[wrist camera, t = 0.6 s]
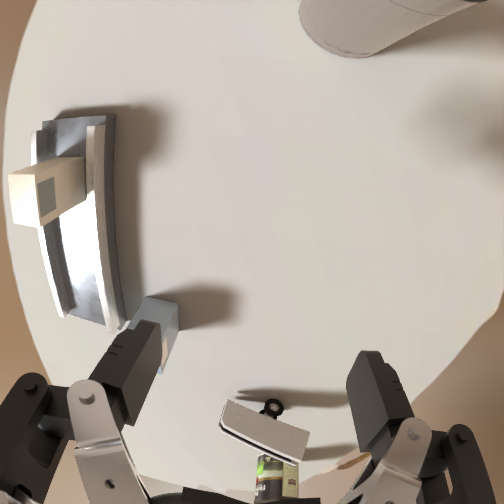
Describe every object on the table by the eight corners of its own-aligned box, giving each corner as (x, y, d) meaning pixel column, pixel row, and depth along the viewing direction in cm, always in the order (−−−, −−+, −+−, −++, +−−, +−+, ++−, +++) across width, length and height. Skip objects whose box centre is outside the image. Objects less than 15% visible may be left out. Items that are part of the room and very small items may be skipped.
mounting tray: (53, 119, 24) (31, 123, 21) (115, 114, 24) (95, 116, 21) (73, 305, 37) (61, 321, 33) (126, 321, 37) (115, 339, 33)
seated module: (56, 157, 25) (7, 174, 18) (84, 157, 25) (34, 174, 18) (58, 197, 27) (13, 222, 20) (86, 200, 27) (40, 228, 20)
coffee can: (253, 460, 58) (249, 505, 45) (264, 447, 53) (260, 499, 40) (290, 463, 58) (289, 507, 45) (305, 451, 53) (306, 500, 41)
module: (145, 296, 35) (120, 336, 27) (178, 303, 35) (158, 347, 27) (148, 324, 37) (127, 364, 30) (179, 331, 37) (162, 374, 30)
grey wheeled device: (315, 413, 41) (236, 382, 44) (303, 460, 32) (212, 424, 35) (306, 424, 43) (231, 393, 46) (293, 467, 34) (208, 434, 37)
